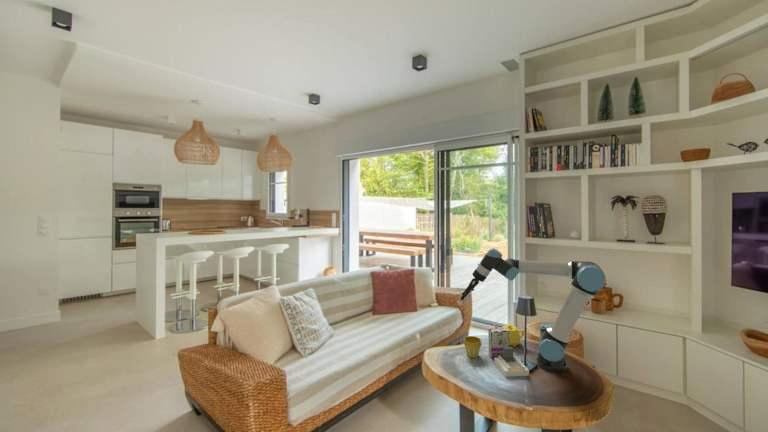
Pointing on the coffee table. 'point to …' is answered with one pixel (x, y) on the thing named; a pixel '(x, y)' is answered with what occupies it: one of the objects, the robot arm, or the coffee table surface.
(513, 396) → the coffee table surface
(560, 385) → the coffee table surface
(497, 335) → the candy bar box
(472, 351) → the plant pot
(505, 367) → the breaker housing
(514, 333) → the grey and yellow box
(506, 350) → the block
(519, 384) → the coffee table surface
